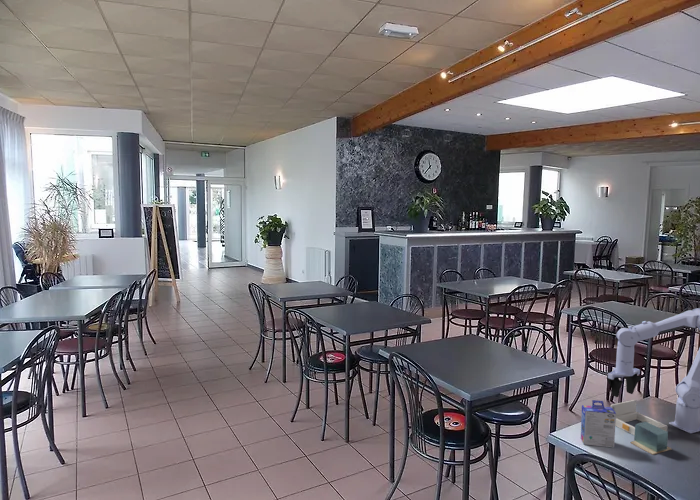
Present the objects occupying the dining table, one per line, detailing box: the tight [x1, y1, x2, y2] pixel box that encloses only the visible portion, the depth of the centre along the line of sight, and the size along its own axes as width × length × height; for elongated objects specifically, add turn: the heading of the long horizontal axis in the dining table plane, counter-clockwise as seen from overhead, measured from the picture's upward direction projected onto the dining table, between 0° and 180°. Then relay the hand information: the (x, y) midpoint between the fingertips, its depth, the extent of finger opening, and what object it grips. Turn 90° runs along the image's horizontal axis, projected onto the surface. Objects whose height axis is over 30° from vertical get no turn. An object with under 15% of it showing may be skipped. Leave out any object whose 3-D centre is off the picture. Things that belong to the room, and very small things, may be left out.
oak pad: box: [630, 440, 673, 455], centre depth 159 cm, size 9×8×1 cm
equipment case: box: [615, 411, 668, 436], centre depth 172 cm, size 13×12×2 cm
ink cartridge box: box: [580, 399, 616, 448], centre depth 161 cm, size 10×6×14 cm, turn 78°
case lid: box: [609, 399, 638, 416], centre depth 177 cm, size 13×2×7 cm, turn 111°
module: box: [633, 422, 669, 452], centre depth 159 cm, size 5×8×6 cm, turn 21°
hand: (622, 394), depth 179 cm, fingers open, 7 cm apart
